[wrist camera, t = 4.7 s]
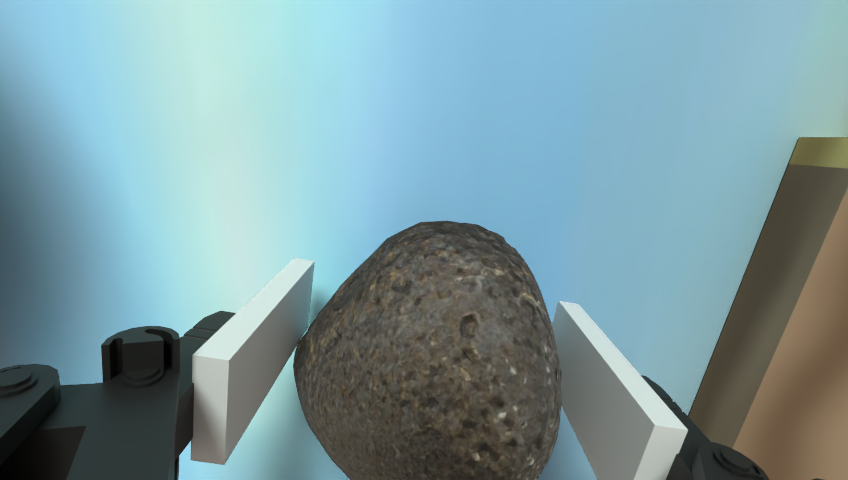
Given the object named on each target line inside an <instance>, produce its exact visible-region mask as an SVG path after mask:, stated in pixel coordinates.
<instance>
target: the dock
mask: <svg viewBox="0 0 848 480" xmlns="http://www.w3.org/2000/svg"><path fill="white" fill-rule="evenodd" d="M688 417H689V418H690V419H691V420H692V422H693V423H694V424H695V425H696V426H697V427H698V428H699V429H700V430H701V431H702V433H703V434H704V435H705V436H706V437H707V438H708V439H709V440H710V441H711V442H716V443H719V444H722V445H725V446H728V447H730V448H732V449H734V450H736V451H738V452H740V453H742V454H743V455H745V456H746V457H748V458H749V459H751V460H752V461H754V462H755V463H756V464H757V465H758V466H759V467H760V468H761V469H762V470H763V471H764V472H765V473H766V475H767V476H768V478H769V479H770V480H812V479H815V478H818V479H824V480H848V137H799V140H798V142H797V145H796V147H795V150H794V152H793V155H792V157H791V160H790V162H789V165H788V167H787V170H786V172H785V175H784V177H783V180H782V182H781V185H780V187H779V190H778V192H777V195H776V197H775V200H774V202H773V205H772V207H771V210H770V212H769V215H768V217H767V220H766V222H765V225H764V227H763V230H762V233H761V235H760V238H759V240H758V243H757V245H756V248H755V250H754V253H753V255H752V258H751V260H750V263H749V265H748V268H747V270H746V273H745V275H744V278H743V280H742V283H741V285H740V288H739V290H738V293H737V295H736V298H735V300H734V303H733V305H732V308H731V310H730V313H729V315H728V318H727V320H726V323H725V325H724V328H723V331H722V333H721V336H720V338H719V341H718V343H717V346H716V348H715V351H714V353H713V356H712V358H711V361H710V363H709V366H708V368H707V371H706V373H705V376H704V378H703V381H702V383H701V386H700V388H699V391H698V393H697V396H696V398H695V401H694V403H693V406H692V408H691V411H690V413H689V416H688Z"/></svg>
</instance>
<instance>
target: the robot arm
mask: <svg viewBox="0 0 848 480" xmlns="http://www.w3.org/2000/svg"><path fill="white" fill-rule="evenodd" d="M313 271H314V261H310V260H304V259H298V258H293V259H292V260H291V261H290V262H289V263H288V264H287V265H286V266H285V267H284V268H283V269H282V270H281V271H280V272H279V273H278V274H277V275H276V276H275V277H274V278H272V279H271V280H270V281H269V282H268V283H267V284H266V285H265V286H264V287H263V288H262V289H261V290H260V291H259V292H258V293H257V294H256V295H255V296H254V297H253V298H252V299H251V300H249V301H248V302H247V303H246V304H245V305H244V306H243V307H242V308H241V309H240V310H239V311H238V312H237V313H231V312H225V311H219V312H217V313H214V314H212V315H209V316H207V317H205V318H203V319H202V320H201V321H200V322H198V323H197V324H196V325H195V326H194V327H193V329H190V330H189V331H188V332H186V333H185V334H184V336H183V337H181V338H180V337H179V334H178V333H177V332H176V331H174V330H172V329H170V328H165V327H161V326H144V327H137V328H131V329H128V330H125V331H122V332H118V333H116V334H115V335H113V336H111V337H109V338H107V339H106V341H105V342H104V343H103V344H102V345H101V349H102V369H103V383H95V384H79V385H61V386H60V380H59V374H58V371H57V370H56V369H55V368H53V367H51V366H48V365H39V364H31V365H17V366H12V367H7V368H3V369H0V480H178V476H179V455H180V454H181V453H182V451H183V450H184V449H185V447H186V446H187V445H188V443H189V442H190V441H191V460H193V461H200V462H208V463H215V464H222V465H225V463H226V461H227V460H228V458H229V456H230V455H231V453H232V451H233V450H234V448H235V446H236V445H237V443H238V442H239V440H240V438H241V437H242V435H243V433H244V432H245V430H246V428H247V427H248V425H249V423H250V422H251V420H252V418H253V417H254V415H255V413H256V412H257V410H258V409H259V407H260V405H261V404H262V402H263V400H264V399H265V397H266V395H267V394H268V392H269V390H270V389H271V387H272V385H273V384H274V382H275V380H276V379H277V377H278V376H279V374H280V372H281V371H282V369H283V367H284V366H285V364H286V362H287V361H288V359H289V357H290V356H291V354H292V352H293V351H294V349H295V347H296V346H297V344H298V343H299V341H300V339H301V338H302V336H303V334H304V333H305V331H306V329H307V328H308V320H309V310H310V301H311V291H312V281H313ZM552 328H553V333H554V337H555V342H556V346H557V351H558V355H559V361H560V369H561V394H562V402H561V405H562V407H563V410H564V412H565V414H566V416H567V418H568V420H569V422H570V424H571V426H572V428H573V430H574V432H575V434H576V436H577V438H578V440H579V442H580V444H581V446H582V448H583V450H584V452H585V455H586V457H587V459H588V461H589V463H590V465H591V467H592V469H593V471H594V473H595V475H596V477H597V479H598V480H770V479H769V478H768V476H767V475H766V473H765V472H764V471H763V470H762V469H761V468H760V467H759V466H758V465H757V464H756V463H755V462H754V461H752V460H751V459H749V458H748V457H746V456H745V455H743V454H742V453H740V452H738V451H736V450H734V449H732V448H730V447H728V446H725V445H722V444H719V443H716V442H711V441H710V440H709V439H708V438H707V437H706V436H705V435H704V434H703V433H702V431H701V430H700V429H699V428H698V427H697V426H696V425H695V424H694V423H693V422H692V420H691V419H690V418H689V417H688V416H687V415H686V414H685V413H684V412H682V410H681V408H680V407H679V406H678V405H677V404H676V403H675V402H673V401H672V399H671V397H670V396H669V395H668V394H667V393H666V392H665V391H664V390H663V389H662V388H661V387H660V386H659V385H657V384H656V383H654V382H653V381H652V380H650V379H649V378H647V377H646V376H642V375H640V374H639V373H638V372H637V371H636V370H635V369H634V367H633V366H632V365H631V364H630V363H629V362H628V360H627V359H626V358H625V357H624V356H623V355H622V354H621V352H620V351H619V350H618V349H617V348H616V347H615V346H614V344H613V343H612V342H611V341H610V340H609V339H608V338H607V336H606V335H605V334H604V333H603V332H602V331H601V330H600V328H599V327H598V326H597V325H596V324H595V323H594V321H593V320H592V319H591V318H590V317H589V316H588V315H587V313H586V312H585V311H584V310H583V309H582V308H581V307H580V305H579V304H575V303H569V302H563V301H559V302H558V306H557V309H556V313H555V316H554V320H553V323H552ZM812 480H824V479H818V478H815V479H812Z"/></svg>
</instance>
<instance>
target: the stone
mask: <svg viewBox="0 0 848 480" xmlns="http://www.w3.org/2000/svg"><path fill="white" fill-rule="evenodd" d="M293 368H294V377H295V382H296V387H297V391H298V396H299V400H300V403H301V407H302V410H303V412H304V415H305V418H306V421H307V423H308V425H309V427H310V428H311V430H312V431H313V433H314V434H315V436H316V437H317V439H318V440H319V442H320V443H321V445H322V446H323V448H324V449H325V451H326V452H327V454H328V455H329V457H330V458H331V459H332V461H333V462H334V463H335V464H336V465H337V466H338V467H339V468H340V469H341V470H342V471H343V472H344V473H345V474H346V476H347V477H348V478H349V479H350V480H537V478H538V477H539V475H540V474H541V472H542V470H543V468H544V467H545V465H546V463H547V462H548V460H549V458H550V457H551V455H552V451H553V448H554V445H555V442H556V440H557V436H558V428H559V423H560V411H561V402H562V394H561V369H560V361H559V355H558V351H557V346H556V342H555V337H554V333H553V328H552V325H551V321H550V318H549V315H548V312H547V309H546V306H545V303H544V300H543V297H542V294H541V291H540V289H539V287H538V284H537V282H536V280H535V278H534V275H533V274H532V272H531V270H530V269H529V267H528V265H527V264H526V262H525V261H524V259H523V258H522V257H521V255H520V254H519V253H518V252H517V250H516V249H515V248H513V247H511V246H510V245H509V244H508V243H506V241H505V239H504V237H502V236H500V235H499V234H497V233H494V232H492V231H489V230H487V229H485V228H483V227H481V226H479V225H476V224H469V223H457V222H452V221H436V222H420V223H418V224H416V225H414V226H411V227H409V228H407V229H405V230H403V231H401V232H399V233H397V234H395V235H393V236H391V237H389V238H387V239H386V240H385V241H384V242H383V243H382V244H381V246H380V247H379V248H378V249H377V250H376V251H375V252H374V253H373V254H372V255H371V256H370V257H369V258H368V259H367V260H366V261H365V262H363V263H362V264H361V265H360V266H359V267H358V268H357V269H356V270H355V271H354V272H353V273H352V274H351V275H350V276H349V277H348V279H347V280H346V281H345V282H344V283H343V284H342V285H341V286H340V287H339V288H338V290H337V291H336V292H335V294H334V295H333V296H332V298H331V299H330V300H329V302H328V303H327V304H326V305H325V306H324V308H323V309H322V310H321V311H320V313H319V314H318V316H317V318H316V319H315V320H314V321H313V322H312V324H311V325H310V327H309V329H308V331H307V332H306V334H305V335H304V336H303V337H302V339H301V340H300V341H299V343H298V345H297V348H296V351H295V356H294V364H293Z"/></svg>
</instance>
